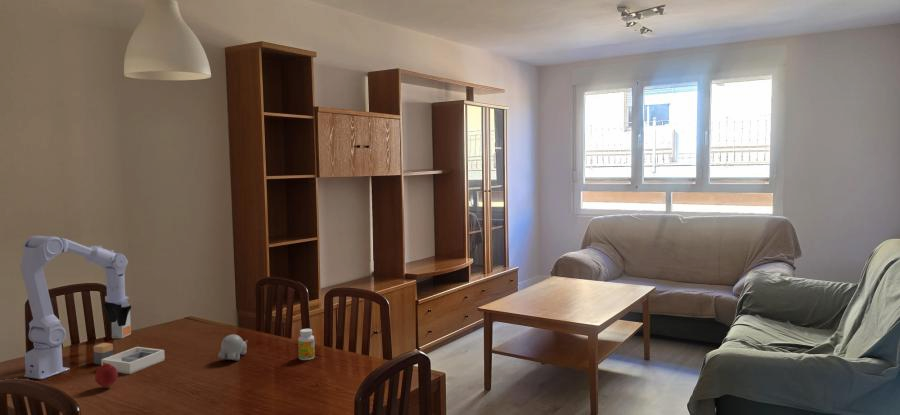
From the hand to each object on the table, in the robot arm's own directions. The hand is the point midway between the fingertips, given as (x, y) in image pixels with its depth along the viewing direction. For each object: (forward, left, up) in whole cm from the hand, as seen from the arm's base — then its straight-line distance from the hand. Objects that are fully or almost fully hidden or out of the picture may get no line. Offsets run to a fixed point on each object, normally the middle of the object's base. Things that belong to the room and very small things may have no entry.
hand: (117, 323), depth 208 cm
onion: (-28, -27, -10) cm, 40 cm away
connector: (-11, -6, -10) cm, 16 cm away
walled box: (-10, -18, -10) cm, 23 cm away
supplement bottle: (+14, -69, -10) cm, 71 cm away
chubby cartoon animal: (+6, -46, -10) cm, 47 cm away
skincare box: (+14, +14, -10) cm, 22 cm away
